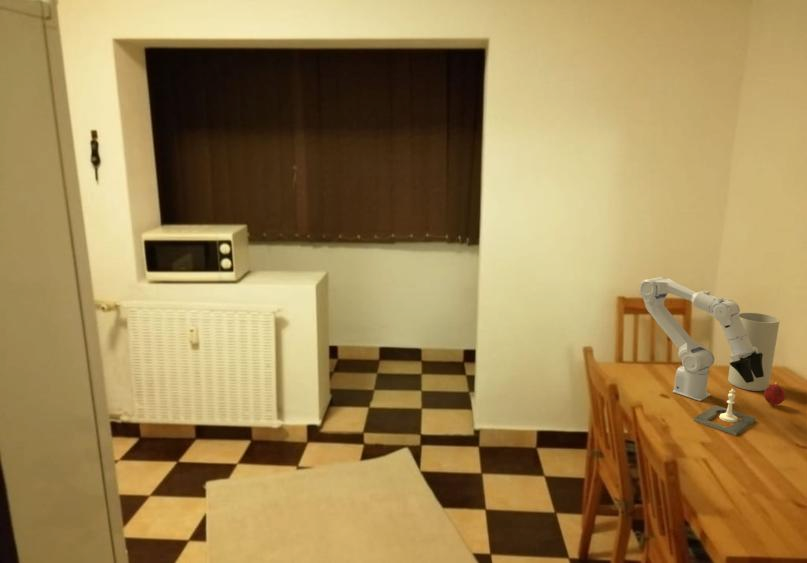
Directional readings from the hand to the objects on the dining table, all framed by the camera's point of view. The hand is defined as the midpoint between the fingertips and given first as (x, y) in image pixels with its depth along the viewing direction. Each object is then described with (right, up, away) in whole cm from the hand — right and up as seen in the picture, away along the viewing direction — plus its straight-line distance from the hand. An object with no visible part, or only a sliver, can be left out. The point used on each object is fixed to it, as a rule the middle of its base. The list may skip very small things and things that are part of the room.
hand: (755, 379), depth 174 cm
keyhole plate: (-10, -13, -1) cm, 16 cm away
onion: (+12, -10, +10) cm, 18 cm away
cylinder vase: (+14, -7, +26) cm, 30 cm away
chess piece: (-8, -13, 0) cm, 15 cm away
